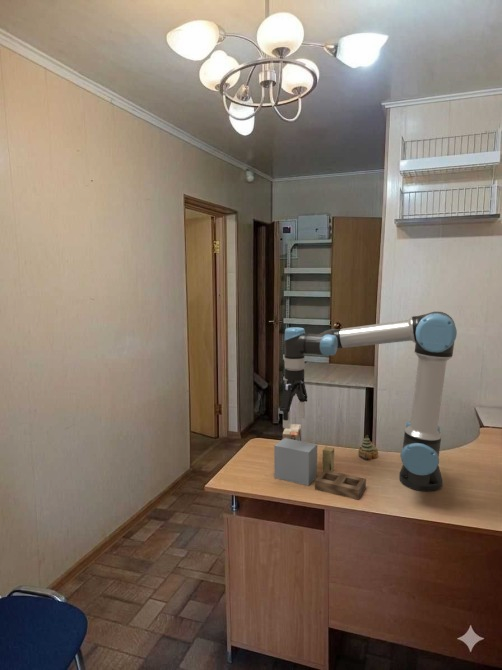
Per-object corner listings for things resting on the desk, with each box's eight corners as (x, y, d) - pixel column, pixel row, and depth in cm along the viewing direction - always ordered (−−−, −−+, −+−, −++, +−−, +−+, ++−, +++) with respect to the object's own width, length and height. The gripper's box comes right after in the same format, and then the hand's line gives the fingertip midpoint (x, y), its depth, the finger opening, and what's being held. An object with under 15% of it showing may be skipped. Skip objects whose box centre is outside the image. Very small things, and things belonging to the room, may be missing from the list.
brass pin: (333, 472, 172) (334, 448, 170) (331, 475, 169) (331, 451, 167) (325, 470, 173) (325, 446, 172) (322, 474, 170) (322, 449, 169)
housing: (317, 476, 168) (317, 444, 167) (308, 485, 161) (308, 452, 159) (284, 468, 175) (284, 437, 173) (274, 477, 167) (274, 445, 166)
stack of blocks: (288, 442, 203) (288, 417, 202) (301, 443, 202) (301, 418, 201) (282, 461, 183) (282, 433, 181) (297, 462, 181) (297, 434, 180)
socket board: (365, 487, 159) (365, 478, 158) (358, 499, 150) (358, 490, 150) (323, 478, 167) (324, 469, 166) (314, 489, 158) (314, 480, 157)
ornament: (369, 452, 191) (370, 430, 189) (380, 457, 186) (380, 435, 184) (356, 456, 187) (356, 434, 185) (367, 461, 181) (367, 438, 180)
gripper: (298, 362, 176) (298, 412, 179) (270, 373, 155) (270, 431, 158) (315, 363, 173) (315, 415, 175) (289, 376, 151) (289, 434, 154)
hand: (294, 422), depth 167 cm, fingers open, 13 cm apart
